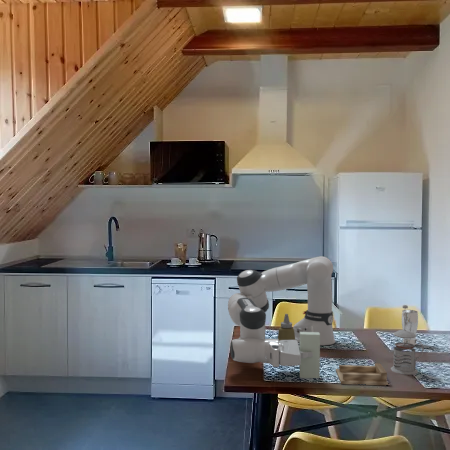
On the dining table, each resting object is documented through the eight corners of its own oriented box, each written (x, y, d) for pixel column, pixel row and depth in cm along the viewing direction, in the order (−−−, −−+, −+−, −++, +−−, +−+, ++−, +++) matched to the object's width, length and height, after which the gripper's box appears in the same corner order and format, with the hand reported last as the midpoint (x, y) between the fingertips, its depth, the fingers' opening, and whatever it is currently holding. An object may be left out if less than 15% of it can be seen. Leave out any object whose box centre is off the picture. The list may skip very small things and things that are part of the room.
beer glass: (415, 342, 220) (415, 309, 220) (419, 346, 213) (420, 313, 213) (399, 341, 221) (400, 309, 221) (403, 345, 214) (404, 312, 214)
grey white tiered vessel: (393, 364, 188) (394, 301, 188) (424, 369, 183) (426, 304, 182) (388, 371, 180) (389, 305, 179) (421, 377, 174) (422, 309, 173)
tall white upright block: (300, 378, 173) (300, 334, 172) (299, 374, 176) (299, 331, 176) (319, 378, 172) (320, 334, 172) (318, 375, 176) (318, 332, 175)
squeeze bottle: (297, 355, 199) (298, 312, 199) (294, 361, 192) (294, 316, 191) (278, 353, 202) (279, 311, 202) (274, 359, 194) (274, 315, 194)
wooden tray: (341, 383, 167) (341, 372, 167) (335, 371, 180) (335, 360, 180) (387, 385, 166) (388, 374, 165) (379, 372, 179) (379, 362, 178)
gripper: (273, 351, 186) (309, 352, 184) (274, 368, 165) (314, 369, 164) (273, 335, 185) (309, 336, 184) (274, 350, 165) (314, 351, 164)
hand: (312, 352), depth 174 cm, fingers closed on tall white upright block, 3 cm apart
